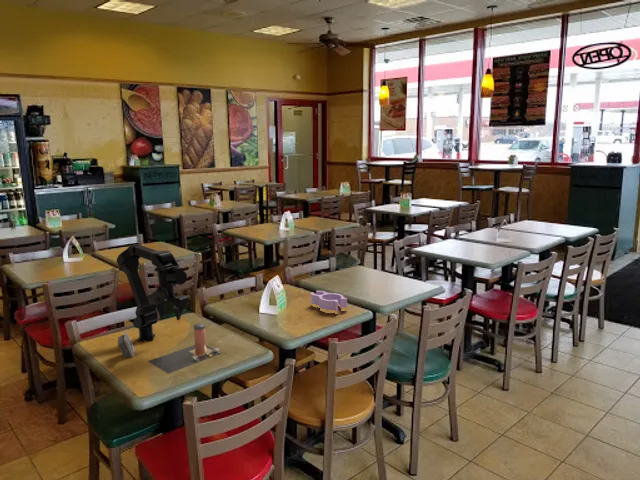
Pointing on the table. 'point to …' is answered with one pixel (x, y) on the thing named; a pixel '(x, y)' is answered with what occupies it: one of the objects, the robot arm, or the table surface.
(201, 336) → the post
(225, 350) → the table surface
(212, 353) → the breaker panel
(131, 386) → the table surface
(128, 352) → the electrical switch
